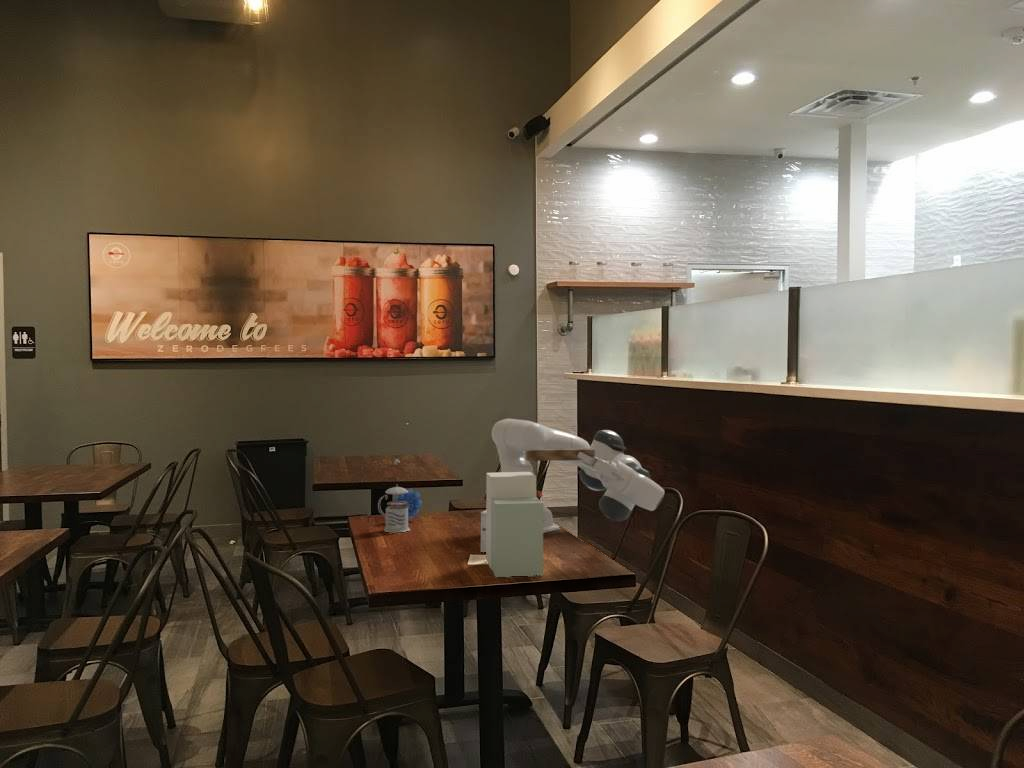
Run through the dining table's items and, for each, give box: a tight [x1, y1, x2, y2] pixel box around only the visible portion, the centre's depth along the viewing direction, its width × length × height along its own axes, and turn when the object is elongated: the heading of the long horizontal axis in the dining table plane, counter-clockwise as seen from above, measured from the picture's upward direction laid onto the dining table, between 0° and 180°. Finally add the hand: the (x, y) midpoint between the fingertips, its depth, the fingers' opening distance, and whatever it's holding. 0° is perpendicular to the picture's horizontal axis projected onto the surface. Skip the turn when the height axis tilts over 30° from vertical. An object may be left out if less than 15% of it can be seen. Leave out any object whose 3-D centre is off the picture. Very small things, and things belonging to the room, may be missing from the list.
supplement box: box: [480, 509, 486, 553], centre depth 238 cm, size 7×7×13 cm
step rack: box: [485, 471, 544, 578], centre depth 218 cm, size 13×19×26 cm
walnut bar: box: [525, 449, 595, 462], centre depth 224 cm, size 20×3×3 cm, turn 100°
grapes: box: [392, 488, 423, 522], centre depth 286 cm, size 12×7×12 cm, turn 108°
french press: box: [377, 459, 411, 533], centre depth 269 cm, size 10×12×25 cm
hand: (575, 453), depth 225 cm, fingers closed on walnut bar, 3 cm apart
